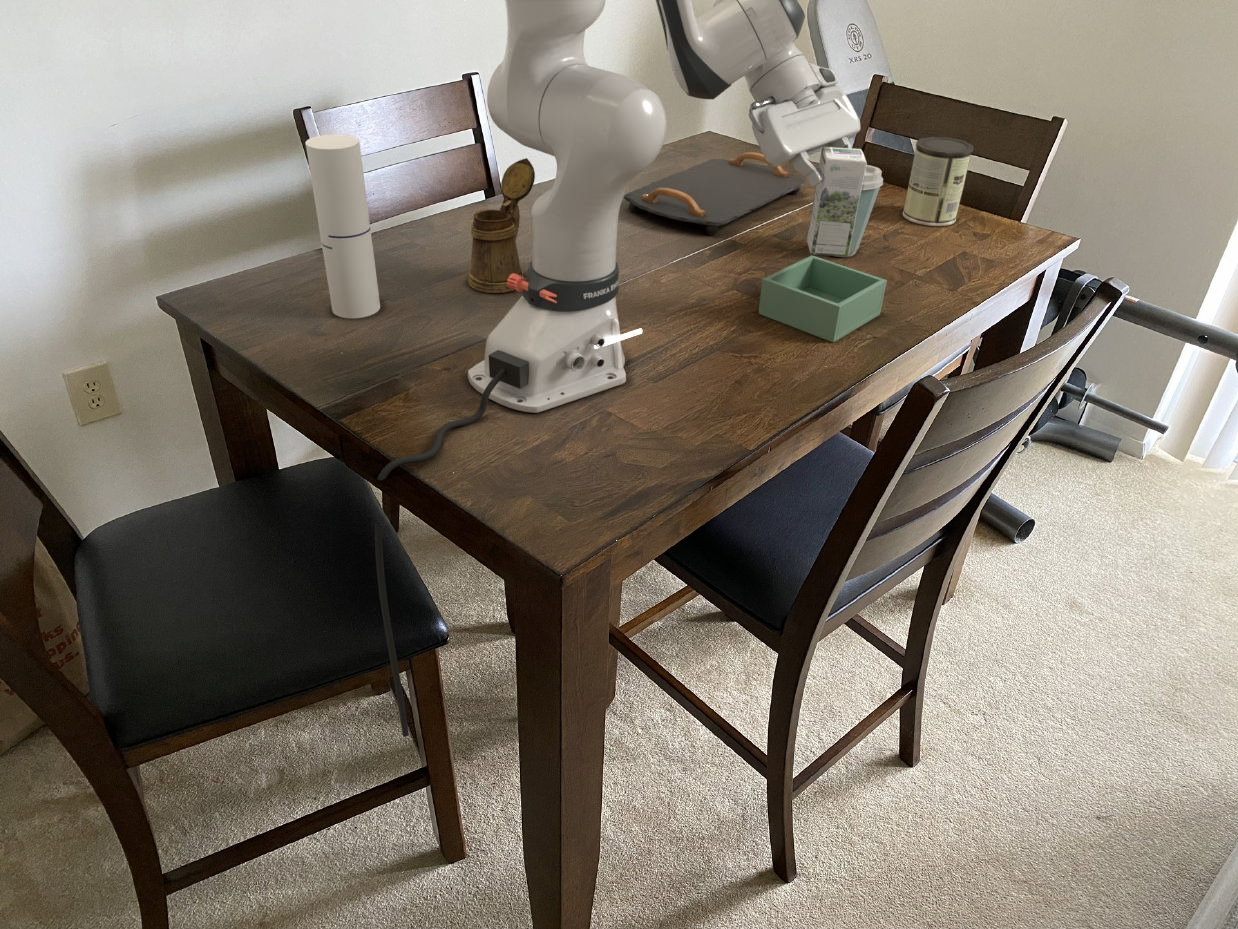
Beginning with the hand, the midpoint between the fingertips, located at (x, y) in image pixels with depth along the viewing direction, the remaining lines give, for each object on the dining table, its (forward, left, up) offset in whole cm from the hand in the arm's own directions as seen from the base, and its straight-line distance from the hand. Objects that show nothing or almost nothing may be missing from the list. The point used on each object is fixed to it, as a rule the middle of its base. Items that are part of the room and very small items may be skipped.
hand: (835, 176), depth 134 cm
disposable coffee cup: (+25, +11, -21) cm, 35 cm away
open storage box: (0, -1, -21) cm, 21 cm away
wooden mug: (-26, +43, -21) cm, 55 cm away
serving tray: (+29, +42, -21) cm, 55 cm away
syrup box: (0, -1, -11) cm, 11 cm away
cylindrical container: (-50, +50, -21) cm, 74 cm away
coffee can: (+53, +8, -21) cm, 58 cm away
